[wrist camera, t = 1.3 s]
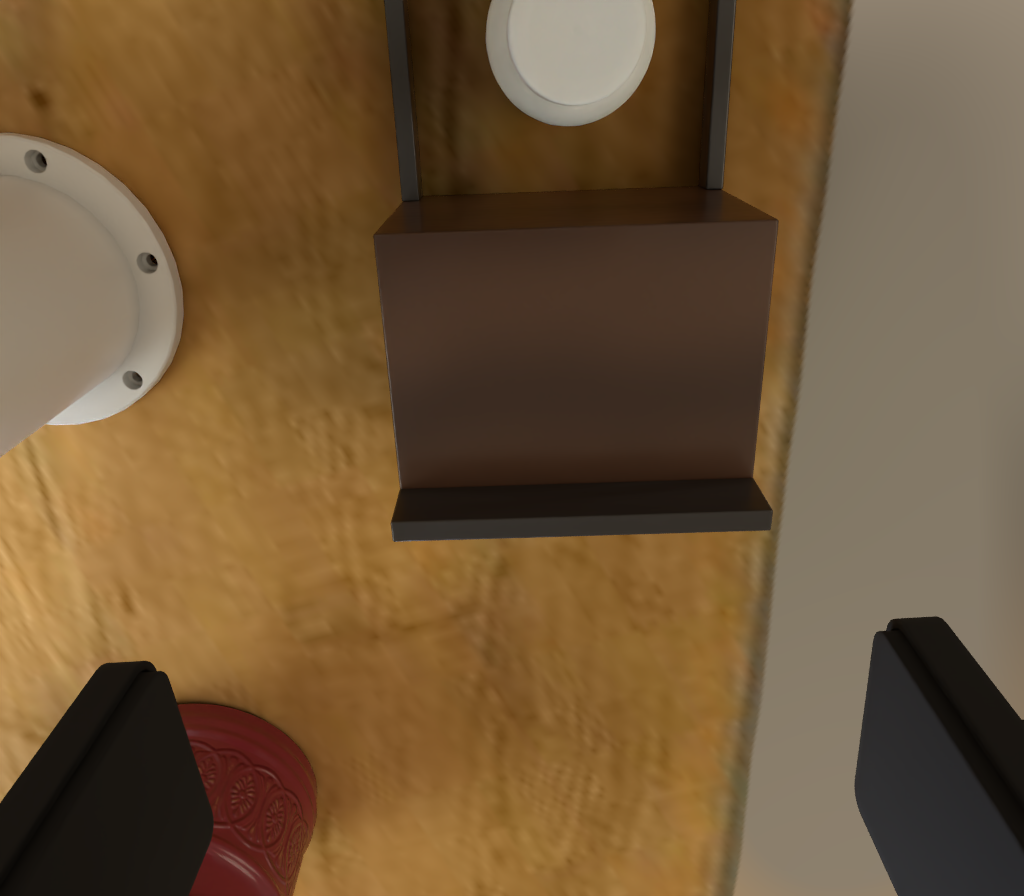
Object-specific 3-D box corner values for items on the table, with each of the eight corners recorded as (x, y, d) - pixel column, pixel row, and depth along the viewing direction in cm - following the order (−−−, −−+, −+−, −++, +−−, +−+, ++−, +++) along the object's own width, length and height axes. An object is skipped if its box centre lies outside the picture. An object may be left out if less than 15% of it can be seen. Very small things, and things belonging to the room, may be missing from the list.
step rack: (382, -84, 30) (311, -171, 19) (734, -99, 30) (854, -195, 19) (425, 415, 38) (392, 542, 28) (699, 406, 38) (771, 530, 28)
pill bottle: (475, 96, 32) (462, 103, 24) (510, -54, 30) (510, -109, 21) (603, 134, 33) (636, 154, 24) (646, -11, 31) (700, -47, 22)
